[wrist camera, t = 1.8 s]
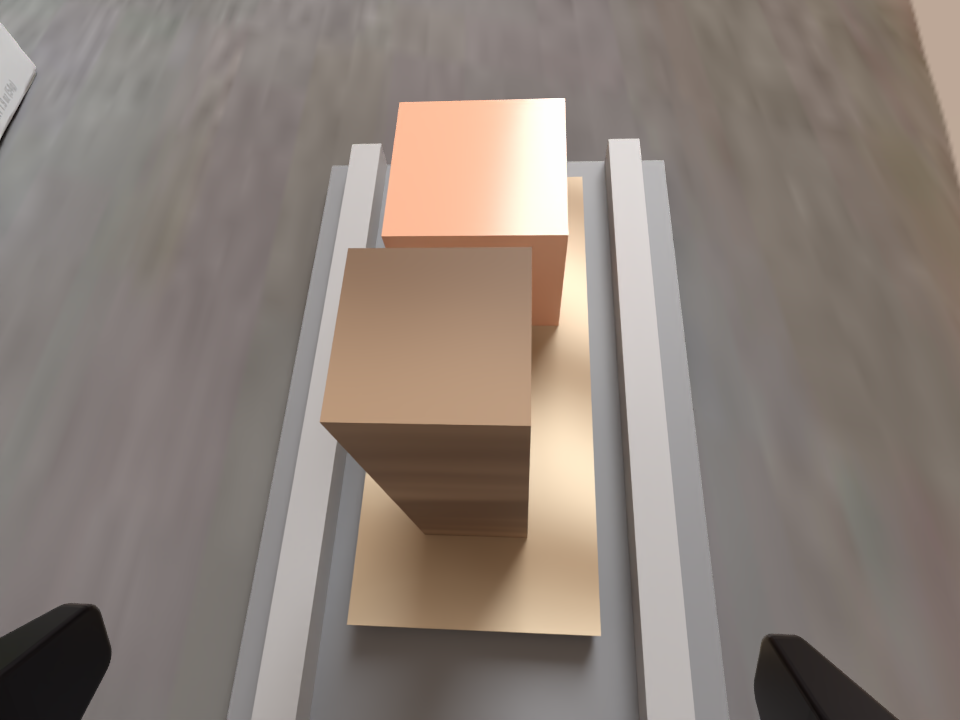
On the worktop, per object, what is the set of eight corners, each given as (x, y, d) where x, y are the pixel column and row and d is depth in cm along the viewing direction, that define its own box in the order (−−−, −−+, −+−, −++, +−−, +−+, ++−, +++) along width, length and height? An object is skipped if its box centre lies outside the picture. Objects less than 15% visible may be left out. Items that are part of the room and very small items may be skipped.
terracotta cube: (558, 325, 20) (568, 235, 16) (412, 324, 21) (381, 236, 16) (556, 208, 22) (564, 98, 18) (424, 209, 23) (399, 102, 18)
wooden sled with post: (596, 636, 17) (700, 630, 7) (355, 625, 17) (135, 606, 8) (580, 194, 24) (620, -127, 14) (406, 196, 24) (326, -111, 14)
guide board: (779, 1260, 13) (825, 1374, 11) (156, 1184, 14) (94, 1274, 12) (658, 177, 25) (670, 137, 23) (338, 182, 27) (324, 144, 25)
